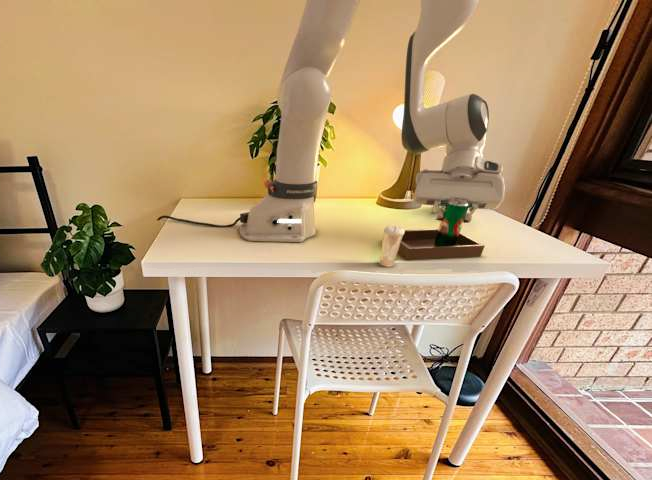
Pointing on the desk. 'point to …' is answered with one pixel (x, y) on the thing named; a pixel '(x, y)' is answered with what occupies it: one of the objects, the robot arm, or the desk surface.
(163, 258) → the desk surface
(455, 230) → the soda can
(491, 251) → the desk surface
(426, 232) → the tray
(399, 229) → the milkshake
